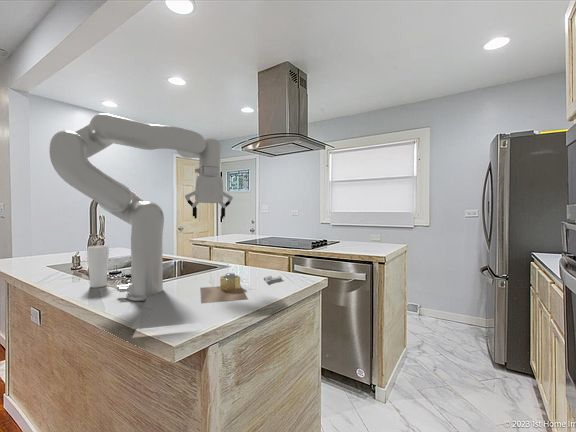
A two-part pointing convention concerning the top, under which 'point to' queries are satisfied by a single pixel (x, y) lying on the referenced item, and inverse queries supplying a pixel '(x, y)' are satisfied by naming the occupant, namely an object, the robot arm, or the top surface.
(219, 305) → the top surface
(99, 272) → the drinking glass
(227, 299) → the walnut board
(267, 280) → the adjustable wrench
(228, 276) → the steel post
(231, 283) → the brass ring
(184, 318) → the top surface
